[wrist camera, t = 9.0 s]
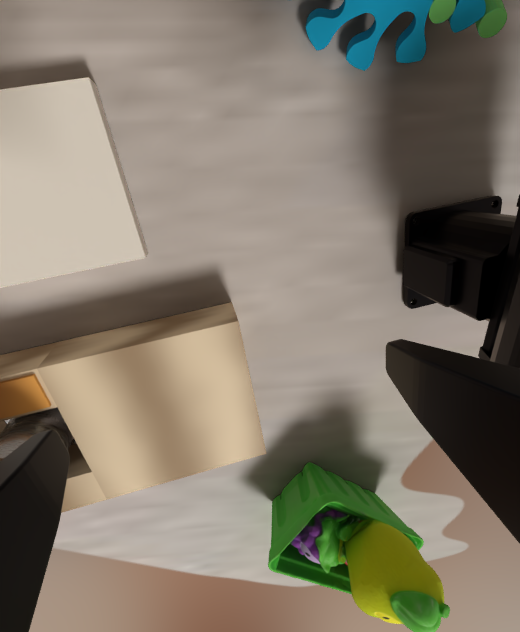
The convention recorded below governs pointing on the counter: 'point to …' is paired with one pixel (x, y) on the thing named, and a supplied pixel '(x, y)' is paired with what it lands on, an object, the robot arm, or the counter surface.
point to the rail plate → (141, 401)
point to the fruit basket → (354, 549)
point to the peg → (32, 429)
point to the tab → (61, 185)
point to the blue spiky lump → (385, 5)
